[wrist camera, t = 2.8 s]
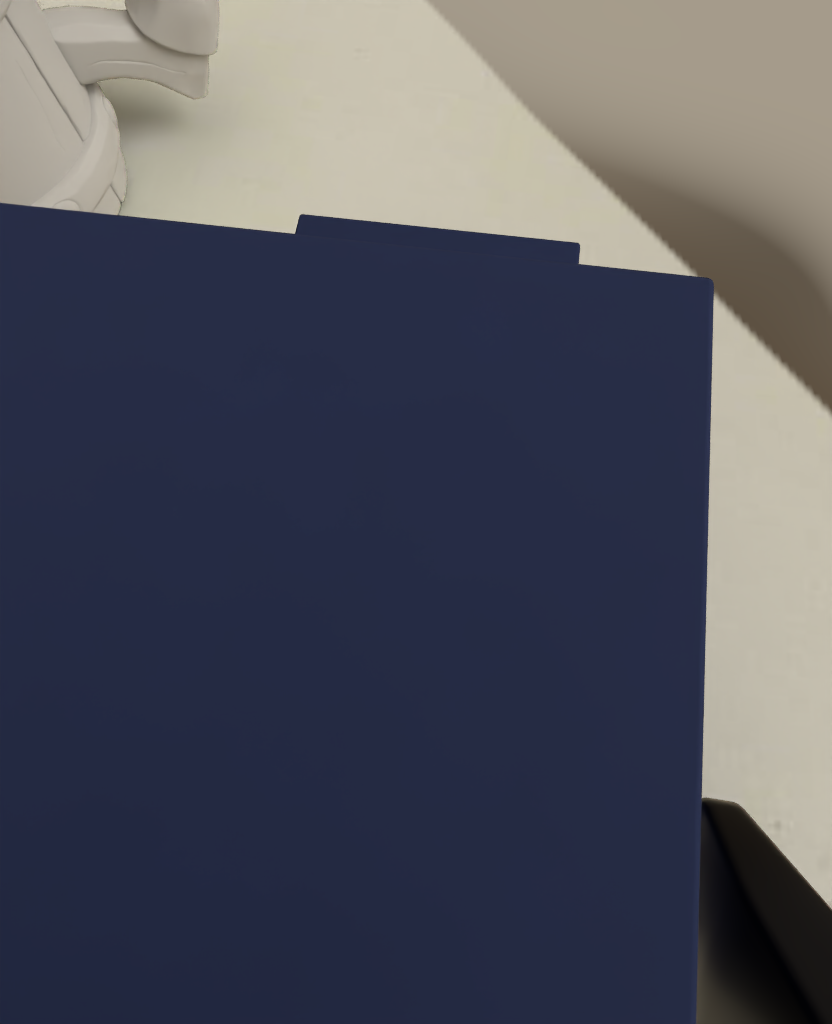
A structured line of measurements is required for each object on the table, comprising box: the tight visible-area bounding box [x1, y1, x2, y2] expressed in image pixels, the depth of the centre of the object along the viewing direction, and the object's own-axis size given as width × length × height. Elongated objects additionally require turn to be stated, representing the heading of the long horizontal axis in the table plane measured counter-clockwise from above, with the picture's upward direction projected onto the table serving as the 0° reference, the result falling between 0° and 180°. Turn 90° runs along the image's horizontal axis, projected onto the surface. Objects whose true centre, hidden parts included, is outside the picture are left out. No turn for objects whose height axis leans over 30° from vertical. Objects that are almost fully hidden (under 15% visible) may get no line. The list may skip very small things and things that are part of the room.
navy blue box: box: [0, 203, 714, 1024], centre depth 12 cm, size 13×6×13 cm, turn 171°
